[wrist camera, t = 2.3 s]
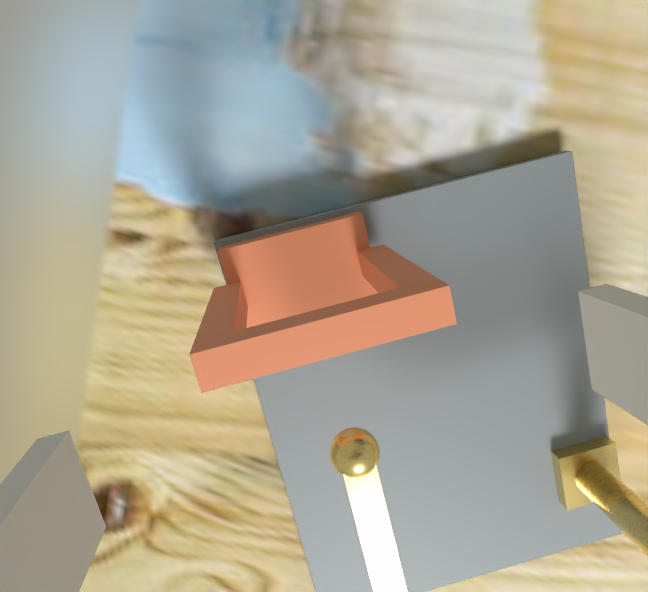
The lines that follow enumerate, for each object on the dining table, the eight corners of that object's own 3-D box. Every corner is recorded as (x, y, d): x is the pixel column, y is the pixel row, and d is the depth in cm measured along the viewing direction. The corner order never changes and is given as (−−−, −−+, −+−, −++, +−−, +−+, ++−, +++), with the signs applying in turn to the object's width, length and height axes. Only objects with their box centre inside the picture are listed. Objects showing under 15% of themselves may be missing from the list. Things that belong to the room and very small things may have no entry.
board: (215, 239, 31) (214, 242, 30) (560, 151, 32) (572, 151, 31) (322, 607, 37) (324, 621, 36) (610, 522, 38) (621, 533, 37)
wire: (300, 339, 32) (334, 477, 18) (583, 264, 32) (831, 337, 18) (359, 558, 35) (425, 820, 21) (612, 485, 36) (838, 689, 22)
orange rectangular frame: (206, 250, 30) (173, 303, 18) (370, 208, 30) (439, 233, 19) (232, 338, 31) (216, 440, 19) (389, 296, 32) (466, 371, 20)
